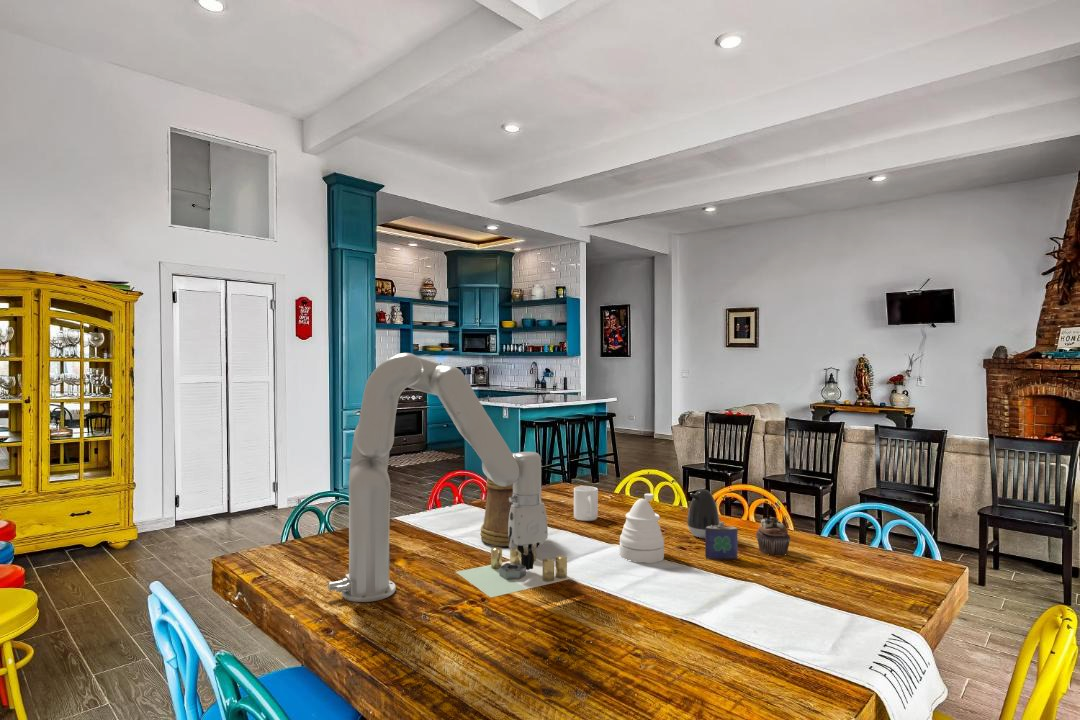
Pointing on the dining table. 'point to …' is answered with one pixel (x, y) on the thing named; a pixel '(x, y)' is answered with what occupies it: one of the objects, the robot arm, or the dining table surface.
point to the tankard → (497, 514)
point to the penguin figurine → (702, 513)
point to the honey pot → (642, 533)
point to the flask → (721, 542)
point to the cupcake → (772, 537)
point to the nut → (512, 571)
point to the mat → (497, 585)
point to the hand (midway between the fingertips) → (527, 567)
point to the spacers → (547, 562)
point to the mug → (585, 503)
